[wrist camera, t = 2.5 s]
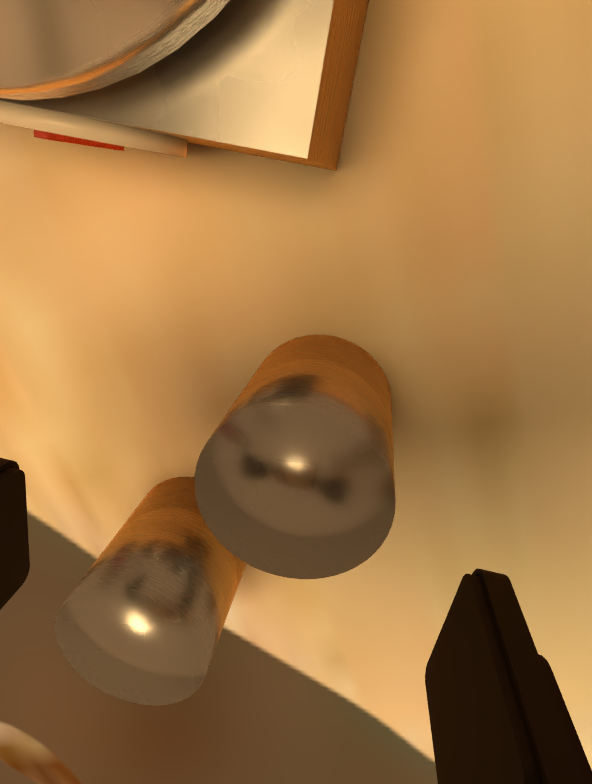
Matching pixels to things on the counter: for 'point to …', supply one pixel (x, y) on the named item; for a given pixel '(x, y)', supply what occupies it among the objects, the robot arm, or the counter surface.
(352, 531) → the disc
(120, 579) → the cylinder
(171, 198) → the counter surface
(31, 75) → the pan
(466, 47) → the counter surface
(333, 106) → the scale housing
